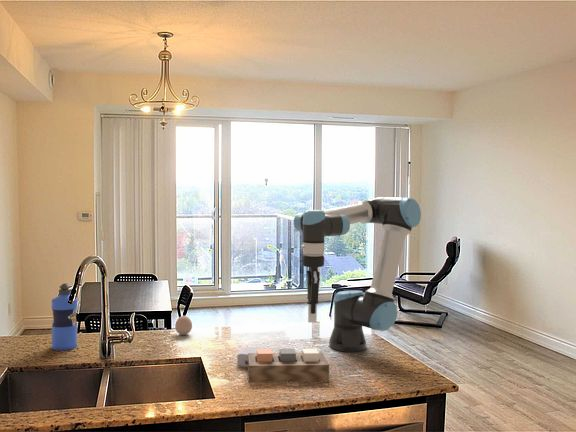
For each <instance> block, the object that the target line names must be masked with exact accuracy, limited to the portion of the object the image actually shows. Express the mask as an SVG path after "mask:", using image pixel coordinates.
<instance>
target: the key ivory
mask: <svg viewBox="0 0 576 432" xmlns="http://www.w3.org/2000/svg"><path fill="white" fill-rule="evenodd" d="M301 353H302V361H303V362H319V353H320V352H319V351H318V349H317V348H301Z"/></svg>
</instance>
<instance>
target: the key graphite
mask: <svg viewBox="0 0 576 432" xmlns="http://www.w3.org/2000/svg"><path fill="white" fill-rule="evenodd" d="M278 353H279V362H296V353H297V352H296V350H295V348H279V350H278Z"/></svg>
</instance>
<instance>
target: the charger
mask: <svg viewBox="0 0 576 432" xmlns="http://www.w3.org/2000/svg"><path fill="white" fill-rule="evenodd" d="M257 349H266V348H265V347H255V346H245V347H244V348H243V349H242V350H241V351H240V352H239V353H238V354H237V356H236V359H237V361H236V363H237V366H238V367H247V368H248V353H257Z"/></svg>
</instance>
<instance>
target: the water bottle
mask: <svg viewBox="0 0 576 432" xmlns="http://www.w3.org/2000/svg"><path fill="white" fill-rule="evenodd" d="M59 288H60V289H58V295H57V296H55V297H54V298H52V299H51V311H52V317H53V319H52V325H51V349H52V351H53V350H54V351H59V352H60V351H70V350H73V349H75V348H77V347H78V346H77V345H78V322H77V310H78V305H79V303H78V302H79V301H78V299H79V298H78V297H76V299H75V300H74V301H73V303H72V304H70V303H68V301H69V296H70V295H71V293H72V291H71V286H70V285H69V284H68V283H62V284H61V285H60V286H59Z"/></svg>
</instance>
